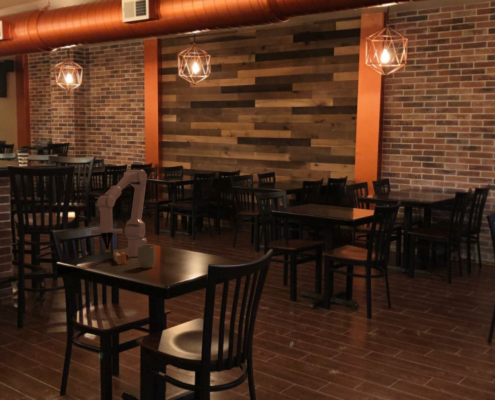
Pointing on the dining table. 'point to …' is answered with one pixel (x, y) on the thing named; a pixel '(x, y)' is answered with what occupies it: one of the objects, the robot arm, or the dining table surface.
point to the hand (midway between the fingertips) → (107, 248)
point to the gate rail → (118, 258)
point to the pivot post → (114, 252)
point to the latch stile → (123, 258)
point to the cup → (146, 256)
